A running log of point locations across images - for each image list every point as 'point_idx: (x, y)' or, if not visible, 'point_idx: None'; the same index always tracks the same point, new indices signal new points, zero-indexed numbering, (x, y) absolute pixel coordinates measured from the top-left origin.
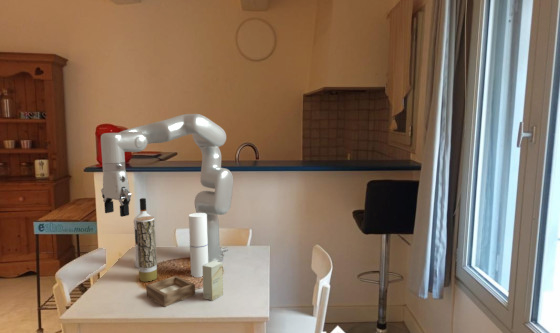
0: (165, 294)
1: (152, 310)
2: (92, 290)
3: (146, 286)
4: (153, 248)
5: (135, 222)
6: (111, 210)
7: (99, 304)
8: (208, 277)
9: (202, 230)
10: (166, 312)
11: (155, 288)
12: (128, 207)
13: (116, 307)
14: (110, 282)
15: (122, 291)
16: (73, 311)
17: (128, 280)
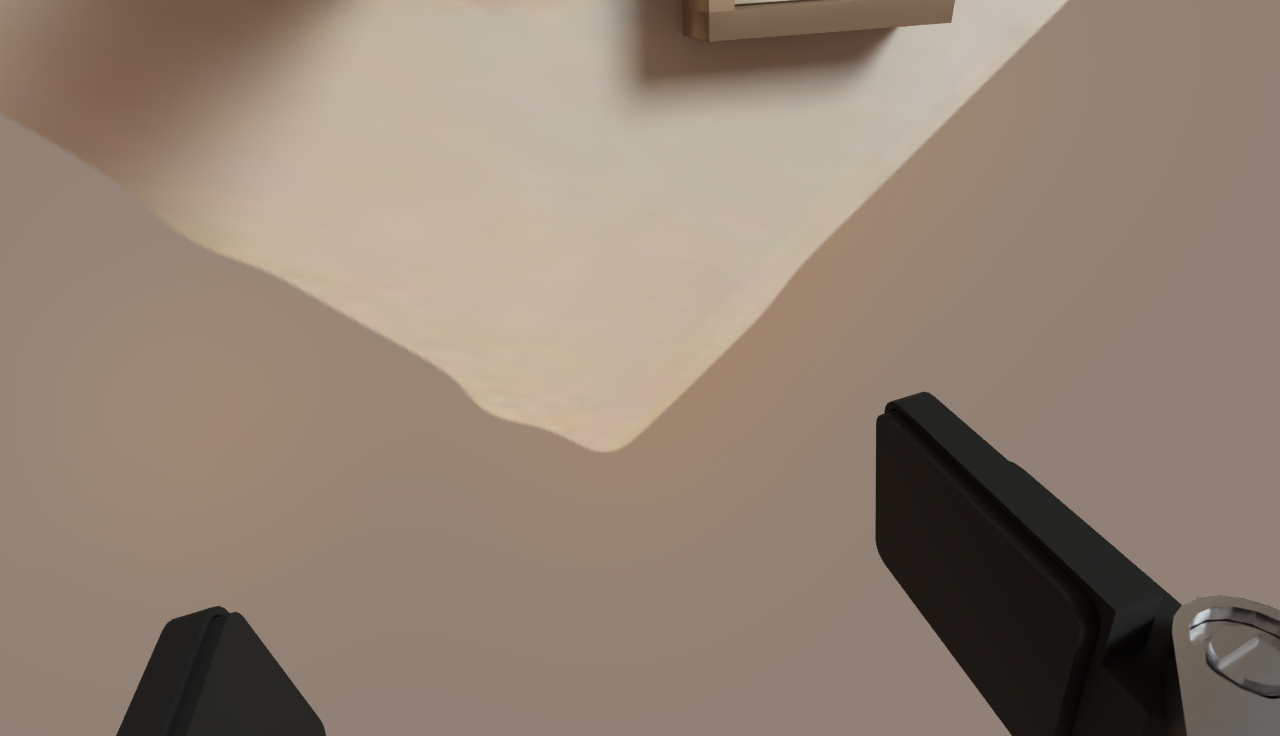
0: (945, 5)
1: (881, 100)
2: (331, 295)
3: (711, 40)
4: None
5: None
6: (251, 681)
7: (587, 309)
8: None
9: None
10: (963, 47)
11: (809, 10)
12: (1069, 520)
13: (693, 246)
14: (234, 151)
15: (485, 139)
16: (577, 423)
17: (273, 10)
